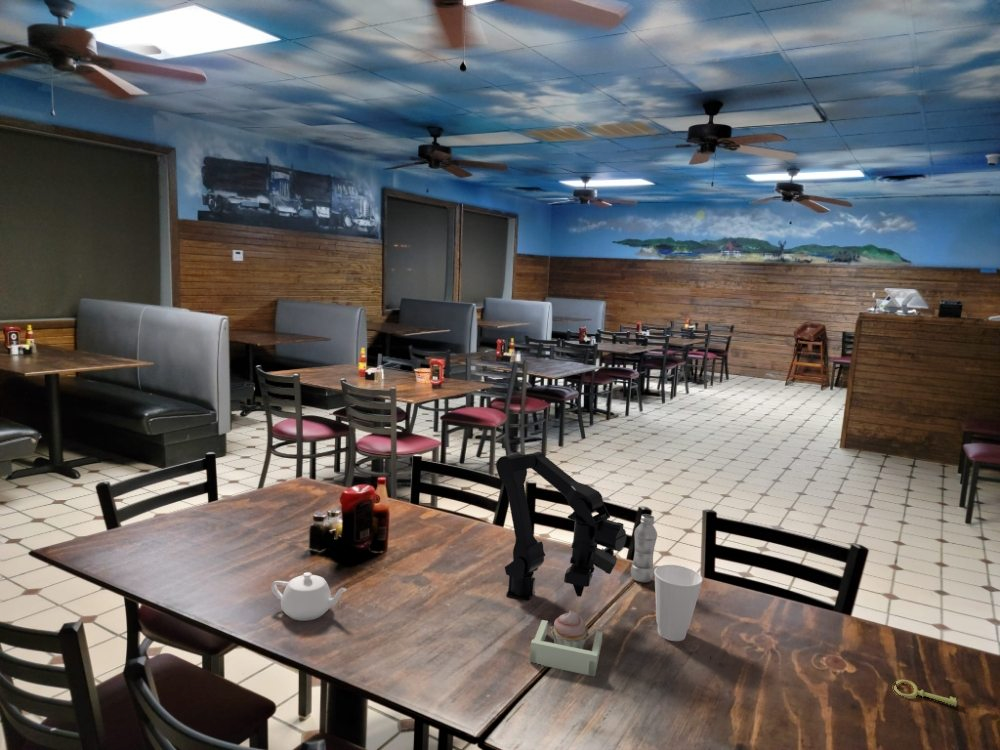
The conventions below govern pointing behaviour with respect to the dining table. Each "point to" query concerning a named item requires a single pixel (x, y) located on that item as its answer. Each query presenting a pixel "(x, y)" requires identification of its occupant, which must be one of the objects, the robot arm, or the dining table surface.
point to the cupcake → (570, 630)
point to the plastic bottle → (644, 550)
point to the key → (924, 694)
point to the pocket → (564, 653)
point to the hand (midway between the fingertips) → (579, 595)
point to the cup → (675, 599)
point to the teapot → (306, 596)
